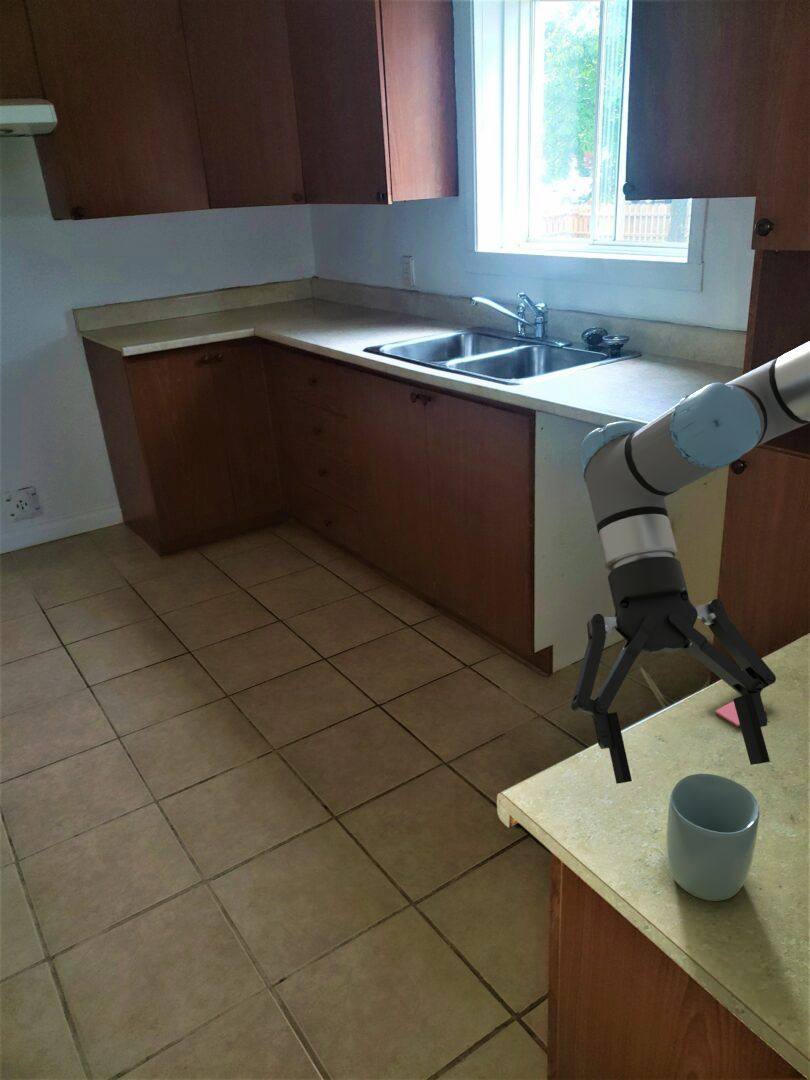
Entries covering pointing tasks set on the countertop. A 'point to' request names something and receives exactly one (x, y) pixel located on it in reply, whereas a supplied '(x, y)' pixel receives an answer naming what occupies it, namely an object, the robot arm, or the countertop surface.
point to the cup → (711, 835)
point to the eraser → (729, 713)
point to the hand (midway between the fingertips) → (692, 773)
